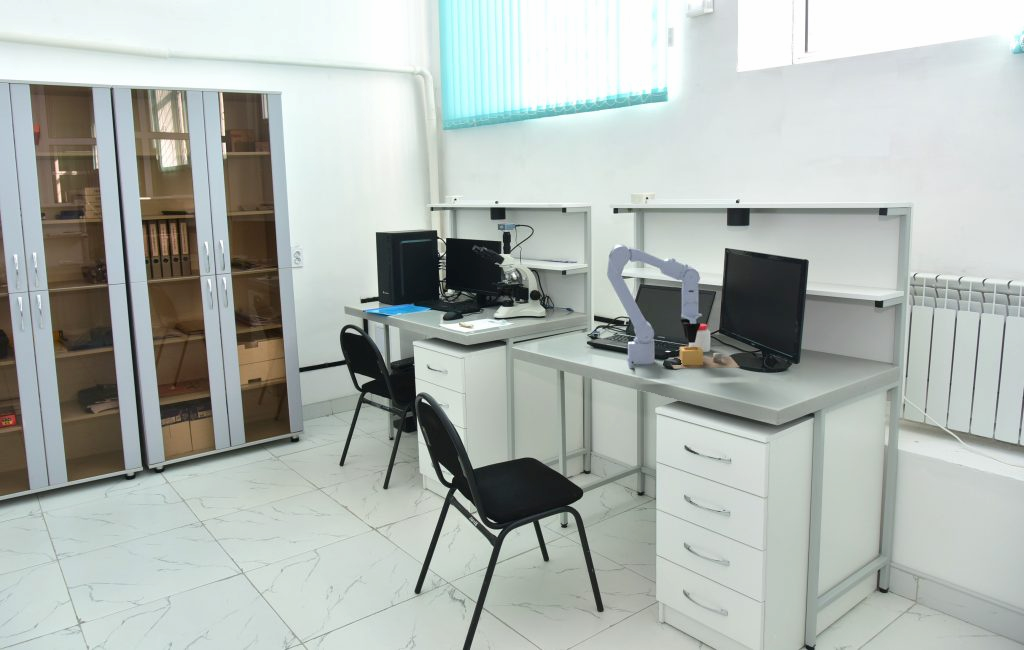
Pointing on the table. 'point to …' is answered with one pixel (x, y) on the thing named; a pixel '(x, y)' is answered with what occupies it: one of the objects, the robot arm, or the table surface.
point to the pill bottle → (702, 338)
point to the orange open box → (691, 355)
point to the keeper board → (711, 362)
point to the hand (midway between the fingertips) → (690, 340)
